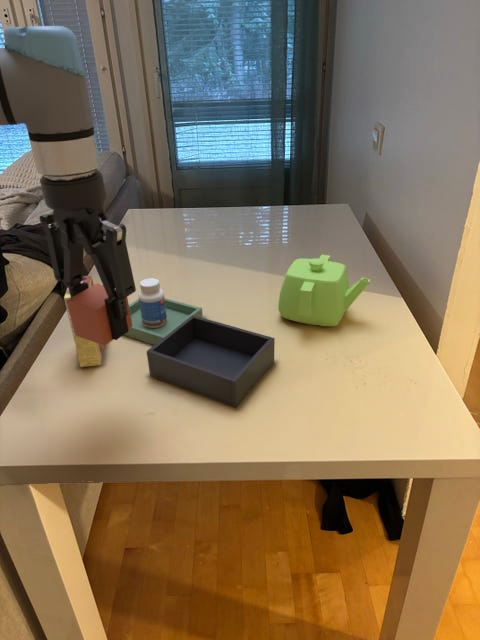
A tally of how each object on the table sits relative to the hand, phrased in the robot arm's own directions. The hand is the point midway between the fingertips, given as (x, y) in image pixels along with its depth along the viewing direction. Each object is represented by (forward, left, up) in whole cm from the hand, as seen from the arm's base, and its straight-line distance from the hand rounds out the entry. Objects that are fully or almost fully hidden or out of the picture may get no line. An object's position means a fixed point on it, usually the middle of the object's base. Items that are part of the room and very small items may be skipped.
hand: (103, 329), depth 70 cm
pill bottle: (-13, +25, -16) cm, 32 cm away
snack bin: (+7, +17, -17) cm, 25 cm away
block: (0, 0, 0) cm, 0 cm away
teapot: (+18, +45, -17) cm, 52 cm away
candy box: (-17, +10, -17) cm, 26 cm away
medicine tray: (-13, +25, -17) cm, 33 cm away
